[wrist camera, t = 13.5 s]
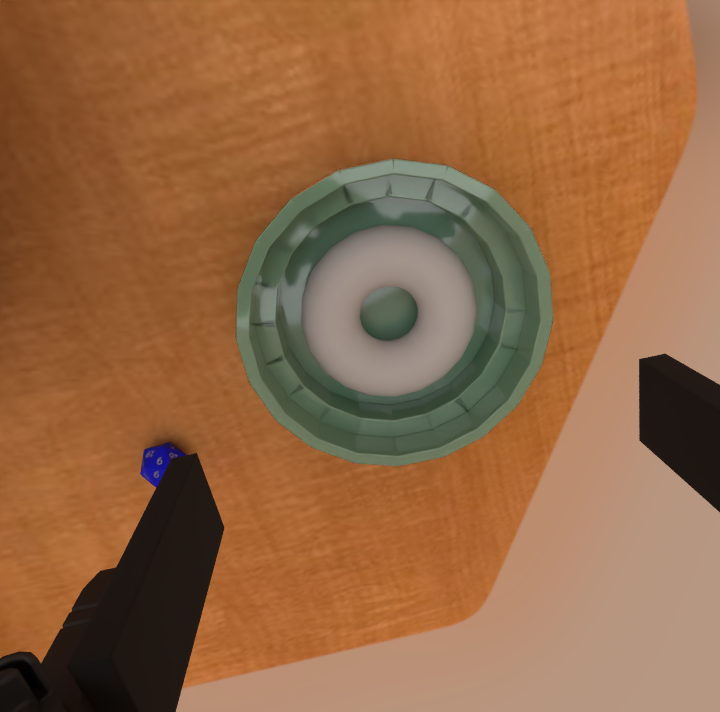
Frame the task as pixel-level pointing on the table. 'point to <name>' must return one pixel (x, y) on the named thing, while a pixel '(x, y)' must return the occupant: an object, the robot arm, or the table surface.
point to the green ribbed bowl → (395, 313)
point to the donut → (377, 270)
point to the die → (158, 461)
